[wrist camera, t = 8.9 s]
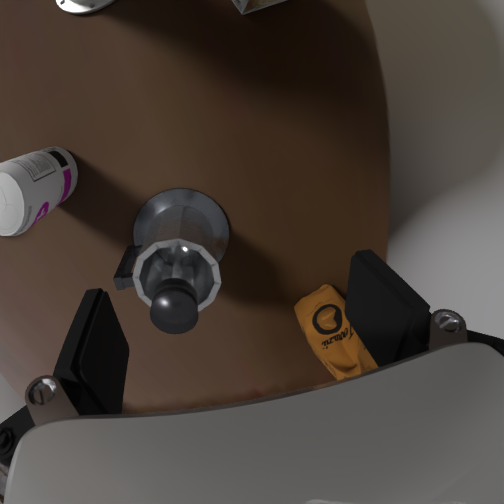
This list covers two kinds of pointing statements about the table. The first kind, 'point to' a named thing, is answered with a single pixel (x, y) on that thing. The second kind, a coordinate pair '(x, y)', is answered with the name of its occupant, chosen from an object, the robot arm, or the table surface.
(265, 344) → the table surface
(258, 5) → the coffee box
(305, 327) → the coffee package
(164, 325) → the plunger
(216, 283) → the press pot
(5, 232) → the supplement can
